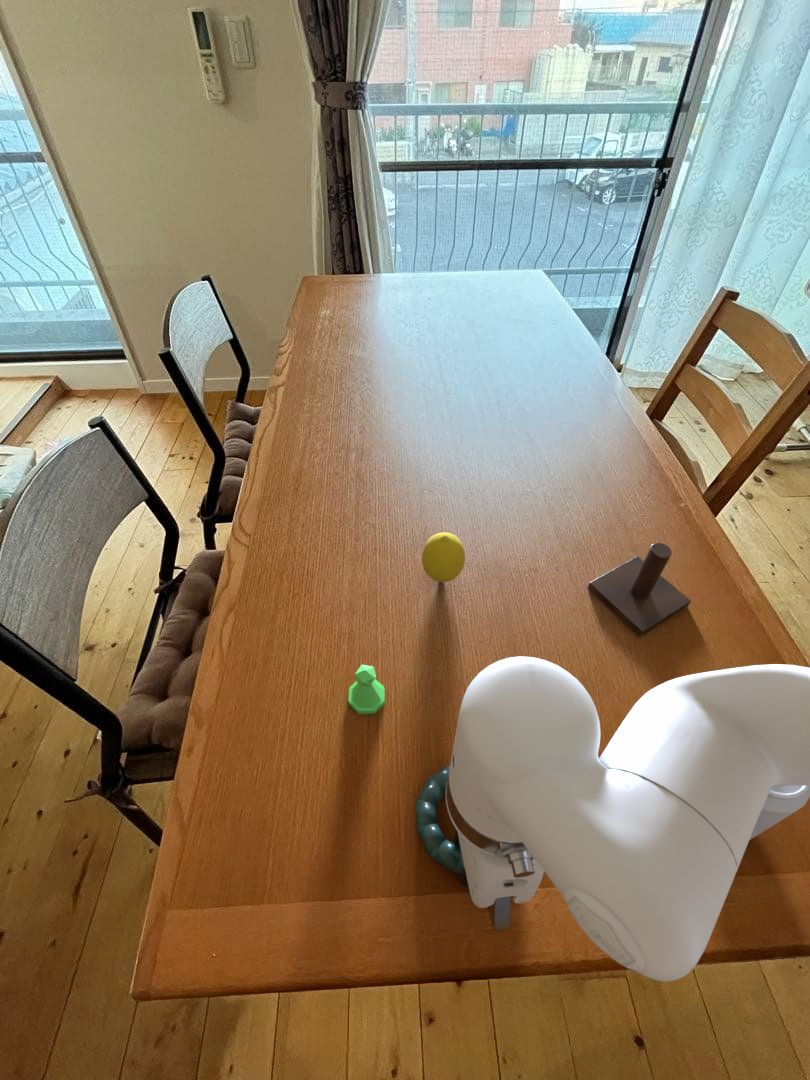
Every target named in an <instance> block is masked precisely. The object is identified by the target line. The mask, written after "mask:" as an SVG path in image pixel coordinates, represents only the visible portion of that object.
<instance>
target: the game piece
mask: <svg viewBox="0 0 810 1080" xmlns="http://www.w3.org/2000/svg"><path fill="white" fill-rule="evenodd" d="M354 676H355V680H356V681H355V682H354V683H352V684H351V685H350V686H349V687H348V705H349V706H350V707H351V708H352V709H353V710H354V711H355V712H356V713H357V714H358V715H374V714H376V713H377V712H378V711H379V710H380V709H381V708H382V707H383V706H384V705H385V702H386V699H385V698H386V696H385V694H386V692H385V691H386V688H385V686H384V685H383V684H382V683H380V681H379V680H378V679H376V678H377V674H376V670H375V666H372V665H366V664H361V665H360V666H359V668H358V669H357V670H356V672H355V673H354Z"/></svg>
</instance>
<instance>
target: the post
mask: <svg viewBox="0 0 810 1080" xmlns="http://www.w3.org/2000/svg"><path fill="white" fill-rule="evenodd" d="M671 557H672V549H671V548H670V547H669V546H668V545H667V544H665V543H662V542H655V543H652V544H651V545H650V547H649V549H648V552H647V554H646V555H645V558H644V559H642V558H640V557H639V556H638V555H637V556H634V557H633V558H631V559H629V560H627V561H625V562H624V563H622V564H620V565H618V566H617V567H615V568H613V569H610V571H607V572H606V573H603V574H602V575H601V576H599V577H596V578H595V579H593V580H591V581H590V582H589V583H588V584H587V589H588V590H589V591H590V592H591V593H592V594H593V595H594V596H595V597H596V598H597V599H598V600H600V601H601V602H602V604H603V605H605V606H606V607H607V608H608V609H609V610H610V611H611V612H612V613H613V614H614V615H615V616H617V618H619V620H621V621H622V622H623V623H624V624H625V625H626V626H627V627H628V628H629V629H630V630H631V631H632V632H634V633H635V634H636V635H637V636H638V637H639V638H641V637H642V636H644V635H645V634H647V633H649V632H650V631H651V630H653V629H655V628H656V627H658V626H659V625H661V624H663V623H664V622H665V621H668V620H669V619H671V618H672V617H673V616H675V615H677V614H678V613H680V612H682V611H683V610H685V609H686V608H688V607H689V606H690V604H691V602H692V601H691V599H689V598H688V597H687V596H686V595H685V594H684V593H682V592H681V591H680V590H679V589H678V588H677V587H675V586H674V585H673V584H671V582H669V581H668V580H667V579H665V578H664V577H663V576H662V574H663V571H664V569H665V568H666V565H667V564H668V562H669V560H670V558H671Z"/></svg>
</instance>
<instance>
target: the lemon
mask: <svg viewBox="0 0 810 1080" xmlns="http://www.w3.org/2000/svg"><path fill="white" fill-rule="evenodd" d="M465 561H466V552H465V548H464V544H463V543H462V541H461V540H460V539H459V538H458V536H457V535H455V534H453V533H452V532H451V533H450V532H446V531H445V532H443V531H441V532H438V533H434V534H433V535H432V536H430V537H429V538H428V540H427V541H426V542H425V544H424V547H423V549H422V554H421V563H422V568H423V570H424V572H425V574H426V575H427V576H428V577H429V578H430V579H432V580H433V581H435V582H439V583H446V582H450V581H453V580H455V579H456V578H457V577H458V576H460V574H461V572H462V571H463V569H464V566H465Z"/></svg>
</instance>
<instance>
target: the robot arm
mask: <svg viewBox="0 0 810 1080" xmlns="http://www.w3.org/2000/svg"><path fill="white" fill-rule="evenodd" d="M601 735H602V733H601V721H600V718H599V714H598V710H597V707H596V704H595V703H594V700H593V699H592V696H591V695H590V694H589V692H588V690H587V689H586V687H585V686H584V685H583V684H582V683H581V682H580V681H579V680H578V679H577V677H575V676H574V675H572V674H571V672H569V671H568V670H566V669H564V668H563V667H561V666H559V665H558V664H556V663H553V662H551V661H549V660H546V659H542V658H539V657H534V656H521V655H520V656H519V655H517V656H511V657H506V658H502V659H500V660H497V661H495V662H493V663H491V664H489V665H488V666H486V667H485V668H483V669H482V670H481V671H480V672H478V673H477V675H476V676H475V677H474V678H473V679H472V681H470V683H469V685H468V686H467V688H466V691H465V693H464V695H463V698H462V700H461V705H460V709H459V714H458V718H457V725H456V730H455V736H454V741H453V747H452V751H451V759H450V764H449V765H450V769H449V774H448V780H447V784H446V793H445V804H446V810H447V813H448V815H449V818H450V821H451V824H452V825H453V827H454V828H455V833H454V837H453V843H454V844H455V845H457V846H459V847H460V848H461V853H462V858H463V863H464V867H465V868H464V871H463V874H461V877H460V883H461V887H468V890H469V895H470V899H471V902H472V904H474V905H475V906H476V907H477V908H479V909H483V908H487V912H488V916H489V920H490V923H491V927H492V931H493V932H498V931H504V930H508V929H509V930H510V929H511V928H510V927H511V904H512V903H511V902H513V903H515V904H522V903H526V902H529V901H531V900H532V899H533V898H534V896H535V894H536V893H537V891H538V890H539V887H540V885H541V882H542V880H543V877H544V873H545V875H546V876H547V877H548V879H549V880H550V881H551V883H552V884H553V886H555V888H556V890H557V891H558V892H559V893H560V895H561V896H562V897H563V899H564V900H565V904H566V906H567V909H568V910H569V912H570V914H571V916H572V918H573V919H574V920H575V922H576V923H577V925H578V926H579V927H580V929H581V930H582V931H583V932H584V934H585V935H586V936H587V937H588V938H589V939H590V940H591V941H592V942H593V943H594V944H595V946H596V947H598V948H599V949H600V950H601V952H603V953H604V954H606V955H607V956H608V957H609V958H610V959H612V960H613V961H614V962H616V963H617V964H619V965H621V966H622V967H625V968H627V970H628V969H629V970H632V971H634V972H636V973H638V974H640V975H642V976H643V977H646V978H647V979H651V980H654V981H658V982H673V981H678V980H680V979H682V978H683V977H686V976H687V975H689V973H690V972H692V971H693V969H694V968H695V967H696V965H697V964H698V963H699V961H700V959H701V958H702V956H703V954H704V952H705V950H706V948H707V946H708V944H709V942H710V939H711V937H712V935H713V932H714V929H715V927H716V924H717V921H718V919H719V917H720V914H721V912H722V909H723V907H724V904H725V902H726V899H727V897H728V895H729V892H730V889H731V887H732V885H733V882H734V879H735V878H736V874H737V872H738V870H739V867H740V865H741V862H742V861H743V860H742V859H743V857H744V855H745V852H746V849H747V847H748V844H749V842H750V840H751V839H750V837H751V835H752V832H753V830H754V827H755V825H756V822H757V820H758V817H759V815H760V813H761V811H762V809H763V806H764V804H765V802H766V799H767V797H768V794H769V792H770V789H771V788H772V787H774V786H781V785H806V786H810V667H808V666H803V665H802V666H801V665H795V664H786V663H785V664H781V663H780V664H779V663H771V664H769V663H768V664H754V665H753V664H752V665H748V666H739V667H732V668H725V669H724V668H723V669H717V670H711V671H710V670H709V671H704V672H698V673H693V674H688V675H683V676H679V677H675V678H673V679H670V680H667V681H664V682H663V683H660V684H658V685H657V686H654V687H653V688H651V689H649V690H647V692H645V693H644V694H643V695H642V696H641V697H640V698H639V699H638V700H637V701H636V702H635V703H634V705H633V706H632V707H631V708H630V710H629V712H628V713H627V714H626V716H625V717H624V719H623V720H622V722H621V723H620V725H619V726H618V728H617V730H616V731H615V732H614V734H613V735H612V737H611V739H610V740H609V742H608V743H607V745H606V746H605V748H604V750H603V752H602V753H601V755H600V757H599V750H600V746H601ZM512 897H513V898H512ZM511 900H513V901H511Z"/></svg>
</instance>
